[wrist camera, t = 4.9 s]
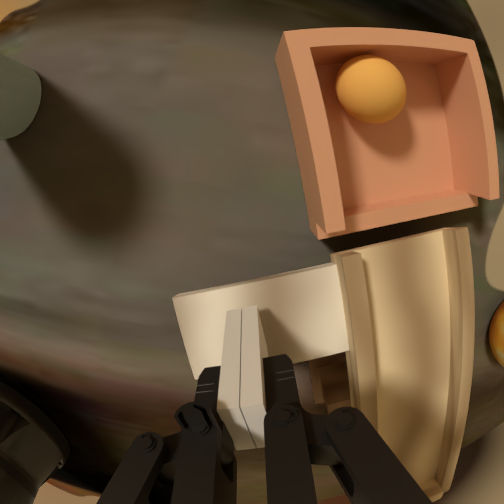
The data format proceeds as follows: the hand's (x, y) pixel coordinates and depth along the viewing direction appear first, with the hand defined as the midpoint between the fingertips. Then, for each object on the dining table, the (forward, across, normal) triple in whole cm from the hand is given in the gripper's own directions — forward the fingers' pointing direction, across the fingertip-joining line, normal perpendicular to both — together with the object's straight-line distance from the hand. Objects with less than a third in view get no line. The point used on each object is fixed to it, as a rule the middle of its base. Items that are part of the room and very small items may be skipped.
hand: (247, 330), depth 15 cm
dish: (+5, +11, +8) cm, 15 cm away
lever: (-1, +5, -8) cm, 10 cm away
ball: (+3, +9, +11) cm, 15 cm away
